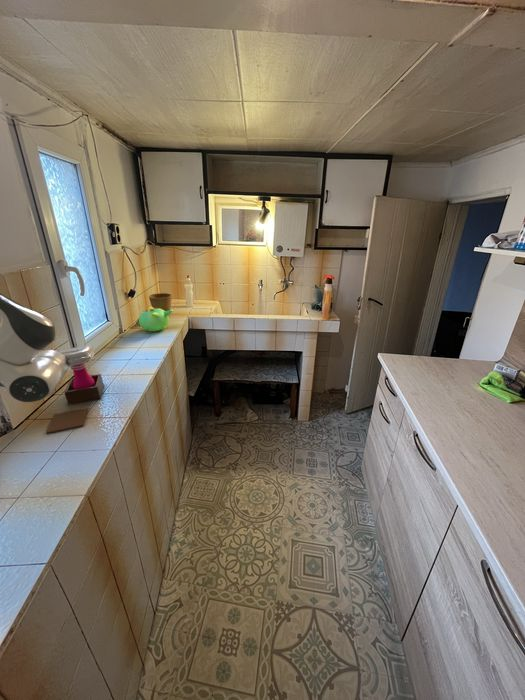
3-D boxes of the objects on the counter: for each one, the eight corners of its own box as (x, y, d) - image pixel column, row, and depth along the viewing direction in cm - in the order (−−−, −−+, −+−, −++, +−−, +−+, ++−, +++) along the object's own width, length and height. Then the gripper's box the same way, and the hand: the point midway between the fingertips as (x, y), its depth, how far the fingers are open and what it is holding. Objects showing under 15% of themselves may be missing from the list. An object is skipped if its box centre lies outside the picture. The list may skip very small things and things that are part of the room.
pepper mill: (83, 402, 105) (68, 353, 97) (72, 396, 108) (56, 349, 100) (101, 392, 111) (88, 346, 103) (90, 387, 114) (77, 342, 106)
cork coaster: (47, 433, 89) (46, 432, 89) (55, 415, 98) (55, 414, 98) (83, 426, 93) (82, 424, 92) (88, 409, 101) (87, 407, 101)
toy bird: (157, 324, 187) (153, 302, 181) (176, 327, 180) (173, 305, 174) (135, 332, 172) (130, 309, 166) (155, 337, 165) (151, 313, 159)
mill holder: (100, 399, 107) (97, 386, 105) (68, 405, 103) (64, 392, 101) (104, 385, 116) (100, 373, 114) (74, 390, 112) (70, 378, 110)
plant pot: (153, 322, 190) (149, 298, 184) (151, 315, 203) (148, 294, 196) (175, 319, 196) (172, 296, 189) (173, 313, 208) (170, 292, 202)
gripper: (87, 348, 80) (93, 336, 92) (-2, 364, 73) (18, 349, 85) (93, 368, 82) (99, 354, 95) (8, 385, 75) (26, 368, 88)
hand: (60, 352), depth 90 cm, fingers open, 8 cm apart
